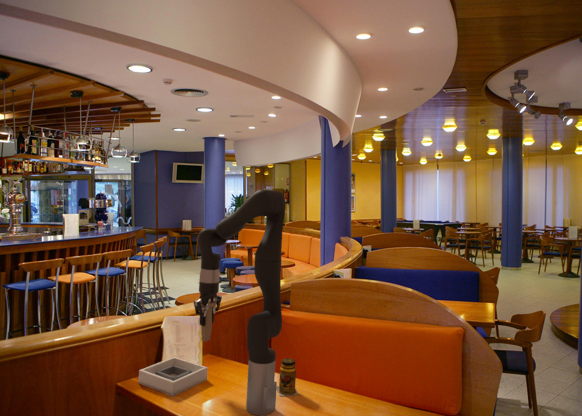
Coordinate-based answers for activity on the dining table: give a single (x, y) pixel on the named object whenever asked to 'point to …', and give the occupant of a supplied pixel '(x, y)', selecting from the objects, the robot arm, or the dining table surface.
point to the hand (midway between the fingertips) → (206, 324)
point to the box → (172, 376)
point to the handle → (207, 322)
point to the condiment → (287, 378)
